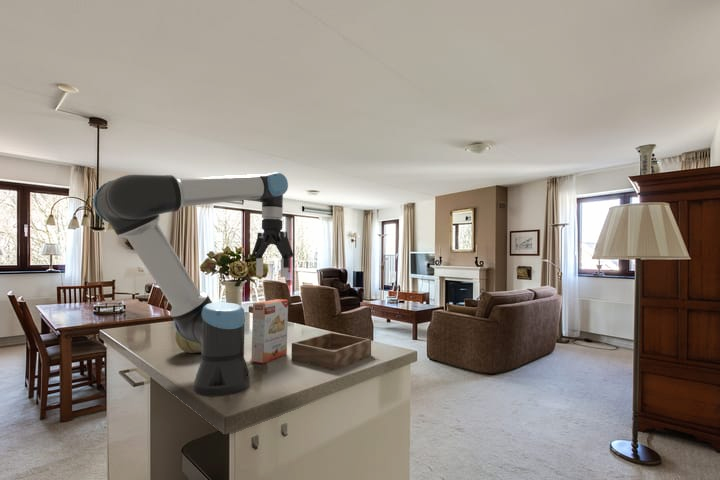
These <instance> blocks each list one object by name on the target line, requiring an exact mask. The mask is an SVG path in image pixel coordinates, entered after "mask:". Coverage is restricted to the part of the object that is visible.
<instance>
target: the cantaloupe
mask: <svg viewBox="0 0 720 480" xmlns="http://www.w3.org/2000/svg"><path fill="white" fill-rule="evenodd" d="M174 337H175V342H176V344H177V346H178V347H179V349H180V350H182V352H185V353H188V354H198V353H201V345H202V344H200V343H196V342H193V341H189V340H187V339H184V338H183V337H182V336H181V335H179V334H178V332H177V331H176V330H175V336H174Z"/></svg>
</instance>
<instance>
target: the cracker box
mask: <svg viewBox="0 0 720 480" xmlns="http://www.w3.org/2000/svg"><path fill="white" fill-rule="evenodd" d="M288 314H289V300H288V299H282V298H281V299H280V298H278V299H277V298H275V299H270V300H264V301H258V302H254V303H252V324H251V325H252V327H251V328H252V330H251V331H252V333H251V361H250V362H254V363H258V364H266V363H268V362H271V361H273V360H276V359H278V358H280V357H283V356H285V355H287V353H288V322H289V319H288V318H289V316H288Z"/></svg>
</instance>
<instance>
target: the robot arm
mask: <svg viewBox="0 0 720 480" xmlns="http://www.w3.org/2000/svg"><path fill="white" fill-rule="evenodd" d="M288 189H289V182H288V179H287V177H286V176H285V175H284V174H283V173H281V172H270V173H266V174H265V173H263V174H247V175H245V174H244V175H224V176H222V175H221V176H206V177H201V176H200V177H188V178H187V177H186V178H177V177H176V176H174V175H172V174H165V175H164V174H163V175H159V174H158V175H157V174H154V175H153V174H127V175H123V176H120V177H118V178H115V179H113V180H108V181H107V182H104V183H103V184H102V185H101V186H100V187H99V188H98V189H97V190H96V191H95V194H94V195H93V196H94V197H93V200H92V201H93V202H92V203H93V208H94V210H95V212H96V214H97V215H98V216H99V217H100V218H101V219H102V220H103V221H105V222H107V223H109V225H110V226H111V228H112V229H113V231H114V232H115V234H116V235H117V236H118V237H122V238H125V239H127V241H128V242H129V243H130V246H131V247H132V248H133V250H134V251H135V252H136V254H137V256H138V257H139V259H140V260H141V262H142V264H143V265H144V266H145V268H146V269H147V271H148V273H149V274H150V276H151V277H152V279H153V280H154V282H155V283H156V285H157V286H158V287H159V289H160V291H161V292H162V294H163V296H165V298H166V300H167V301H168V303H169V304H170V306H171V309H170V313H169V314H170V316H171V318H172V319H173V326H174V328H175V332H176V331H177V332H178V334H179V335H181V336H182V337H183V338H184V339H187V340H189V341H193V342H196V343H200V344H202V345H201V352H200V353H201V356H200V357H201V358H200V359H201V360H200V364H199V367H198V369H197V372H196V375H195V378H194V380H193V392H194V393H195V394H198V395H199V396H200V395H201V396H208V397H217V396H218V397H219V396H226V395H231V394H235V393H238V392H240V391H243V390H245V389H246V388H248V387H249V386H250V384H251V375H250V373H249V369H248V365H247V362H246V359H245V330H246V329H245V328H246V327H245V325H246V324H245V323H246V315H245V314H246V313H245V309H244V308H243V306H242V305H240V304H237V303H234V302H225V301H221V302H220V301H217V302H215V301H214V302H213V301H212V300H211V298H210V297H209V295H208V293H207V292H204V291H200V290H199V289H198V287H197V286H196V283H195V282H194V281H193V279H192V277H191V276H190V274H189V272H188V271H187V269H186V267H185V266H184V264H183V262H182V261H181V259H180V258H179V256H178V255H177V252H176V251H175V250H174V249H175V248H173V246H172V245H171V243H170V241H169V240H168V238H167V237H166V235H165V234H164V232H163V230H162V228H161V227H160V225H159V222H160V218H161V216H160V215H163V214H166V213H173V212H174V213H175V212H179V211H180V210H181V208H183V207H193V206H201V205H211V204H218V203H227V202H228V203H229V202H236V201H250V202H251V201H252V202H257V203H258V202H259V203H261V219H262V220H261V230H263V232H258V233H257V234H256V235H257V236H256V237H257V238H256V240H255V241H256V242H255V244H254V246H253V250H252V252H251V253H252V254H251V257H253V258H254V259H255V267H256V268H255V272H256V273H255V274H256V276H257V277H259V276H264V257H263V256H264V254H265V253H266V251H267V249H268V247H269V246H271V245H275V248H276V249H277V250H278V252H279V254H280V256H281V258H280V278H287V277H289V267H290V265H289V264H290V258H293V257H294V253H293V249H292V247H291V243H290V241H289V240H290V239H289V237H288V232H287V231H283V220H282V219H283V207H284V205H283V203H284V199H283V198H284V195H285V194H286V193H287V191H288Z"/></svg>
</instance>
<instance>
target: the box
mask: <svg viewBox="0 0 720 480" xmlns="http://www.w3.org/2000/svg"><path fill="white" fill-rule="evenodd" d="M370 356H372V338H367V337H359V336H356V335H347V334H342V333H337V332H327V333H324V334H320V335H317V336H312V337H309V338H305V339H301V340H298V341H295V342H291V360H292V361H295V362H298V363H299V362H300V363H302V364H303V363H304V364H308V365H311V366H315V367H319V368H323V369H327V370H330V371H336V370H338V368H339V369H341V368H343V367H345V365H346V366H348V365H351V364H353V363H355V362H358V361H360V359H361V360H363V359H365V358H368V357H370ZM350 363H351V364H350ZM340 367H341V368H340Z"/></svg>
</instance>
